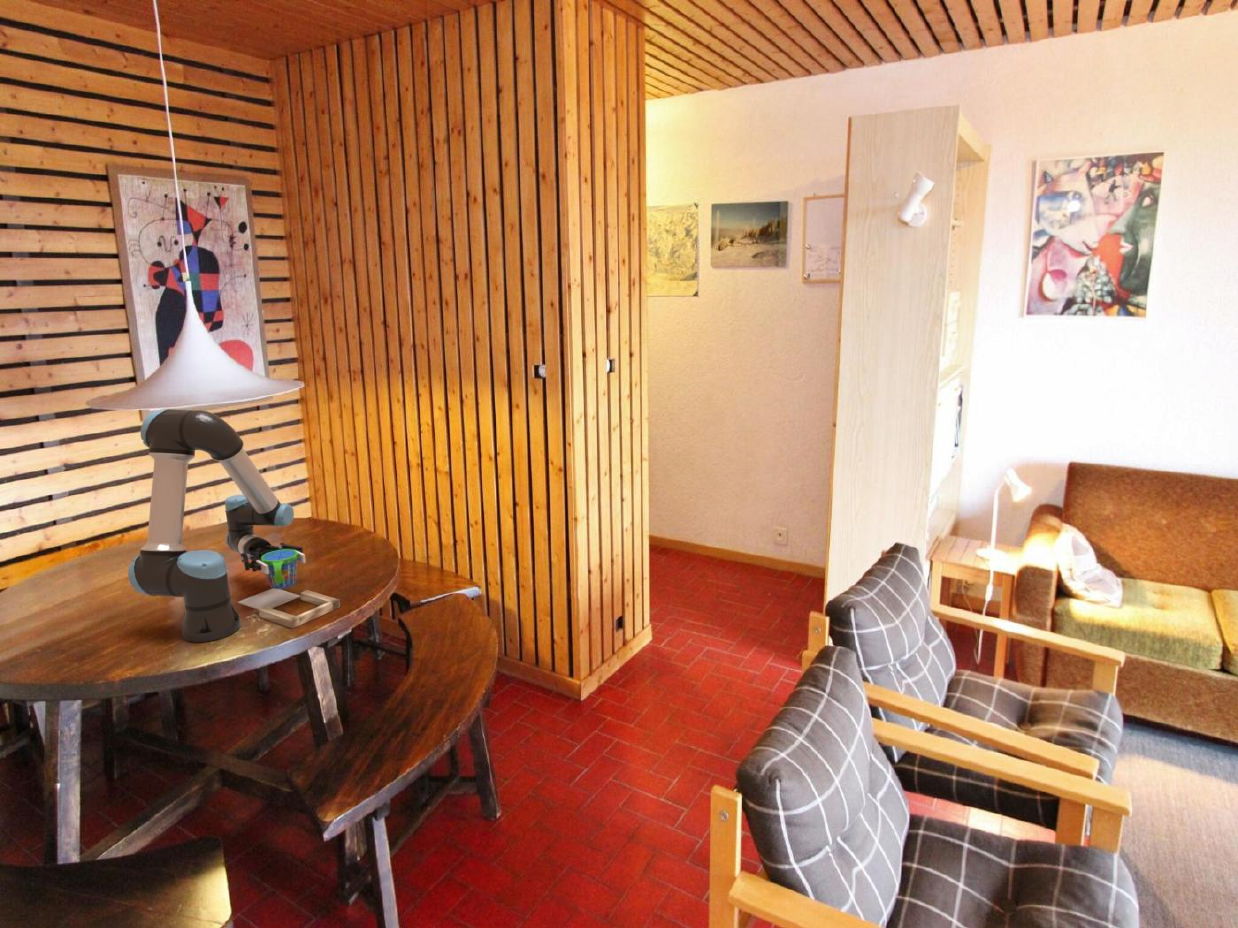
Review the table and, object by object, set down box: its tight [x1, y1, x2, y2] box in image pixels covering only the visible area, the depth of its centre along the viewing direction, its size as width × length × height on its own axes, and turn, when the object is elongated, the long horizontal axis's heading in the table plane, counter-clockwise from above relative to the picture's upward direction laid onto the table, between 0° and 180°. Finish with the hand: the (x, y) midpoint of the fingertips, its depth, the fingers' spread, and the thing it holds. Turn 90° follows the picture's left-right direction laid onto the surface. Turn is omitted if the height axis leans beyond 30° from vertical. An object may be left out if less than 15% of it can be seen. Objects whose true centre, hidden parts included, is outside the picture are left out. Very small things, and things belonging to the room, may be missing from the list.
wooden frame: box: [258, 589, 341, 629], centre depth 230 cm, size 17×16×2 cm
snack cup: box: [261, 549, 298, 590], centre depth 234 cm, size 16×10×10 cm
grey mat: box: [237, 588, 301, 611], centre depth 240 cm, size 13×13×1 cm
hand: (286, 564), depth 231 cm, fingers closed on snack cup, 11 cm apart
